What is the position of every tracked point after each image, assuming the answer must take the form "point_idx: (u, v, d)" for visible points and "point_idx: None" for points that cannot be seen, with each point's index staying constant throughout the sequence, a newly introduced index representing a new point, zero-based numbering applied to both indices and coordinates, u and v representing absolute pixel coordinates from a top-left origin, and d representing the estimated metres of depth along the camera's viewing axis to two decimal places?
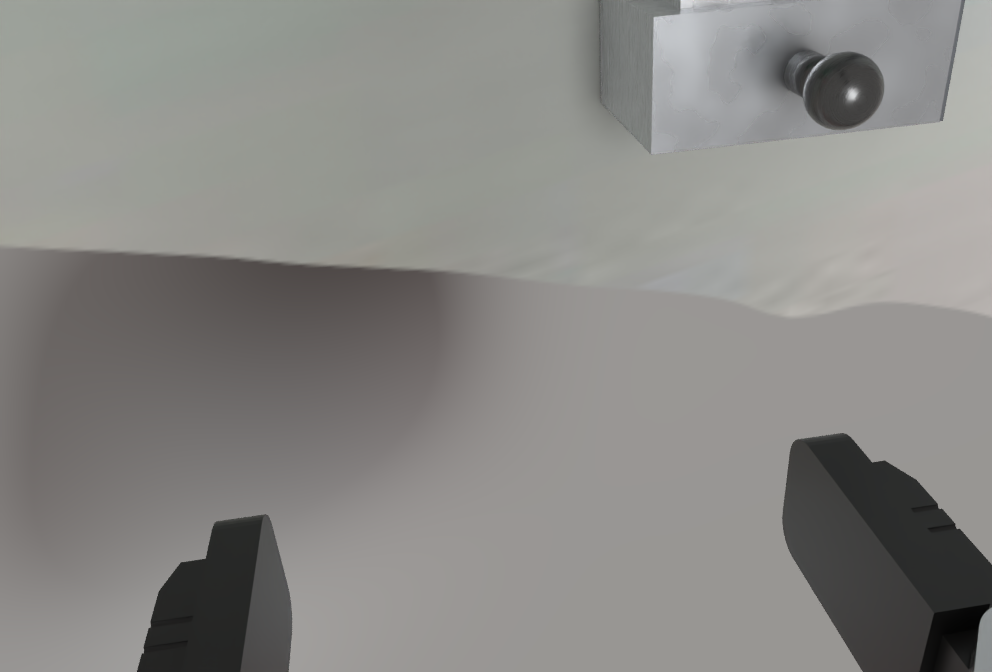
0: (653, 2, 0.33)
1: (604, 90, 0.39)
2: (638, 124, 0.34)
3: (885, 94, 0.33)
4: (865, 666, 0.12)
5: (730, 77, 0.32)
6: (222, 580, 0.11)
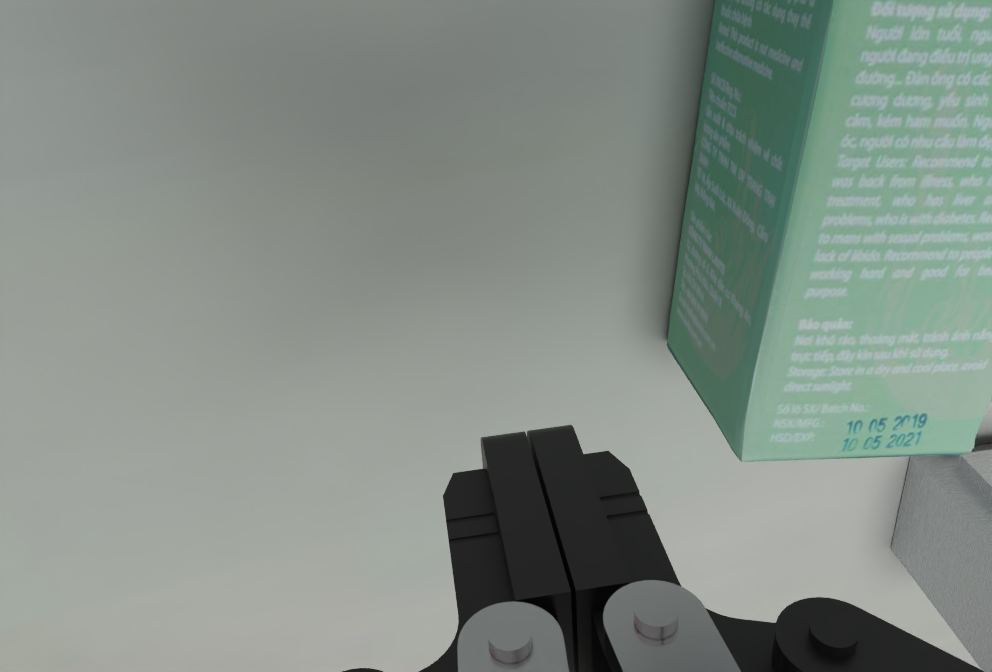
0: None
1: (903, 548, 0.36)
2: (984, 655, 0.31)
3: None
4: None
5: None
6: (510, 482, 0.12)
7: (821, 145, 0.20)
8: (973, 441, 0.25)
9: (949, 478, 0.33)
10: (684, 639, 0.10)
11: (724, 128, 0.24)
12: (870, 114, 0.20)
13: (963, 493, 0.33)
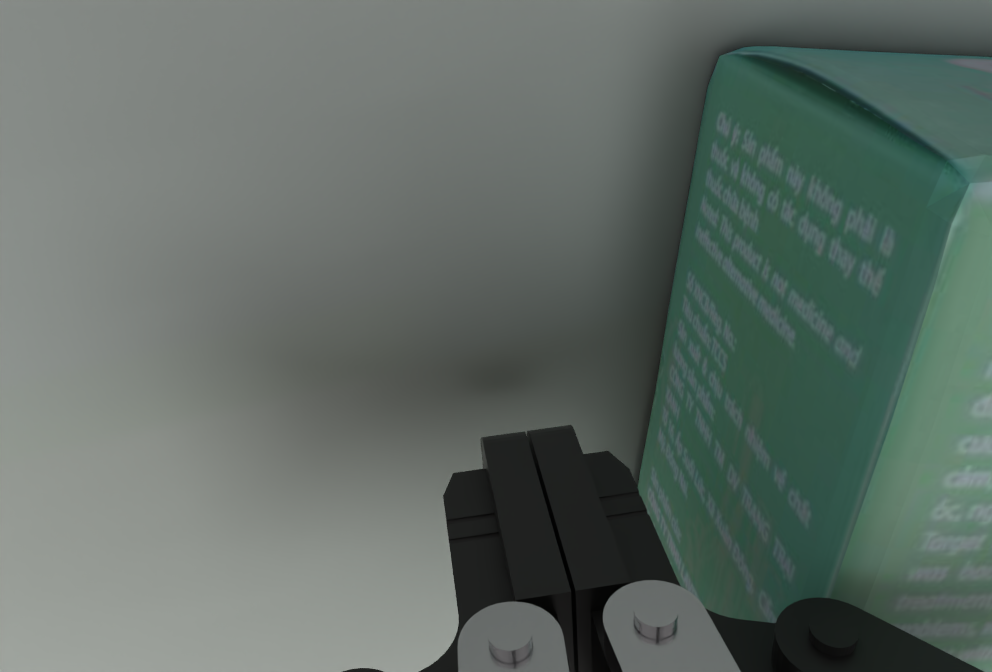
0: None
1: None
2: None
3: None
4: None
5: None
6: (510, 482, 0.12)
7: (892, 517, 0.10)
8: None
9: None
10: (684, 639, 0.10)
11: (705, 376, 0.14)
12: None
13: None
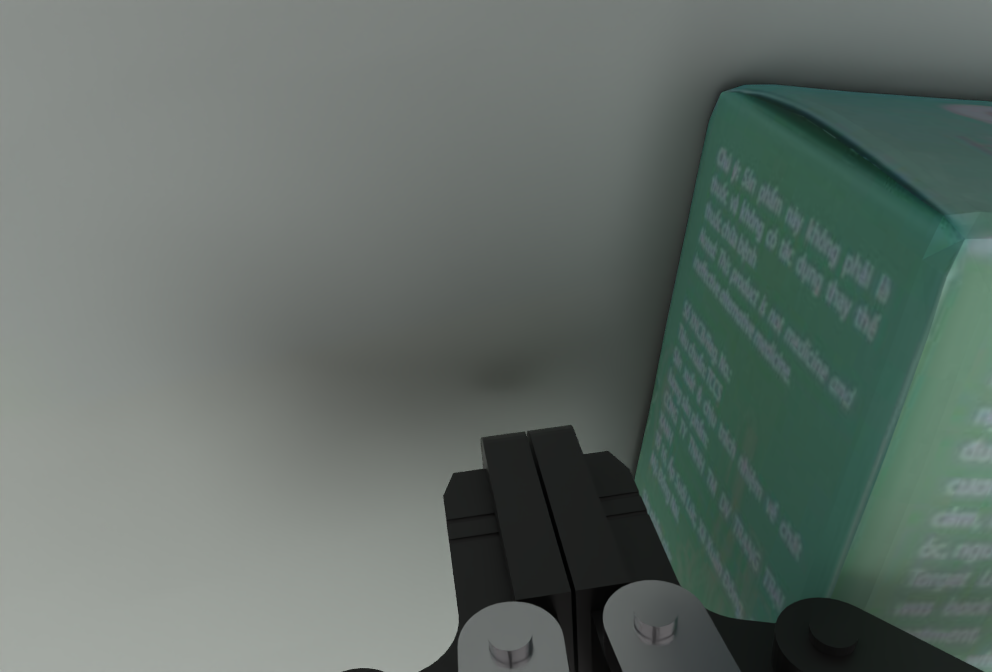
0: None
1: None
2: None
3: None
4: None
5: None
6: (511, 482, 0.12)
7: (881, 555, 0.10)
8: None
9: None
10: (684, 639, 0.10)
11: (700, 405, 0.15)
12: (979, 509, 0.10)
13: None
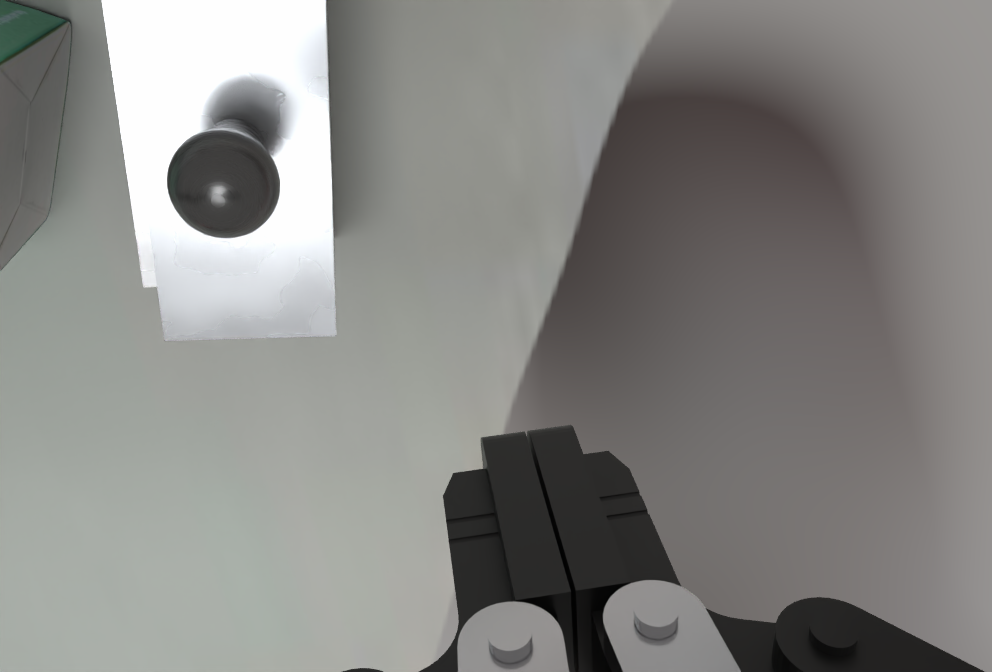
0: None
1: None
2: None
3: (272, 18, 0.22)
4: None
5: (241, 246, 0.25)
6: (510, 482, 0.12)
7: None
8: None
9: None
10: (684, 639, 0.10)
11: None
12: None
13: None
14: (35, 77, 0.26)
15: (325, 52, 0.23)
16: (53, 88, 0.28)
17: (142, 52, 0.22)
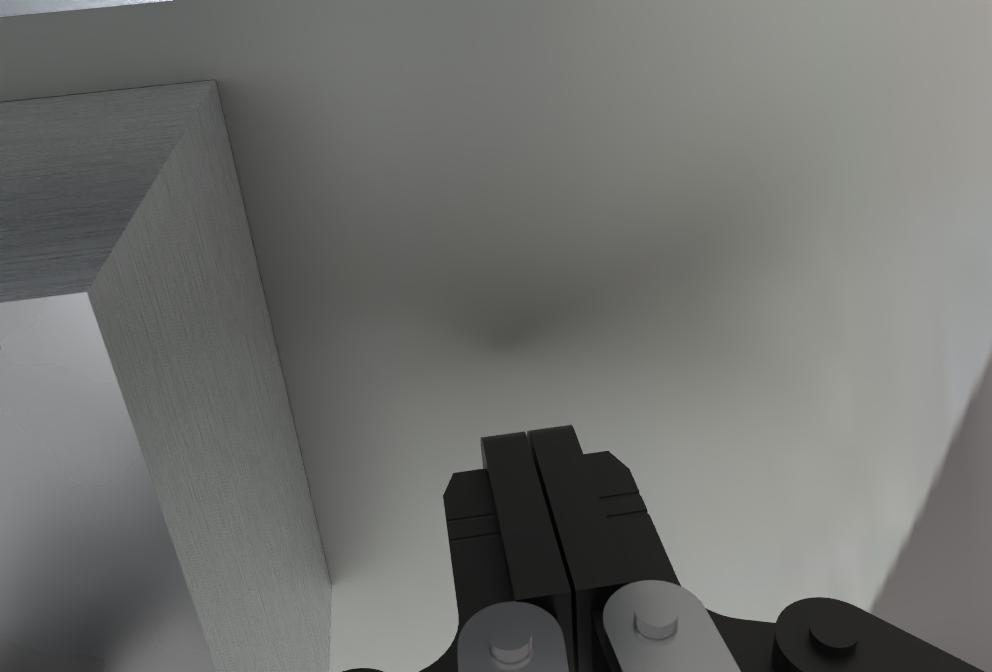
0: None
1: None
2: None
3: (22, 532, 0.09)
4: None
5: None
6: (511, 482, 0.12)
7: None
8: None
9: None
10: (684, 639, 0.10)
11: None
12: None
13: None
14: None
15: (178, 567, 0.09)
16: None
17: None
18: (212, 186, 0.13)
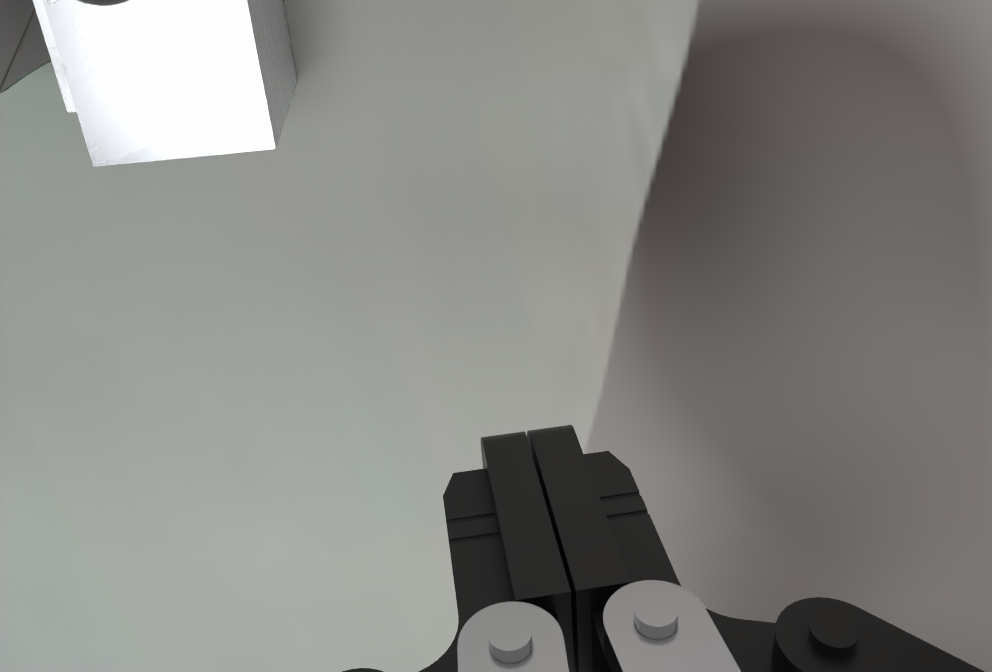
0: None
1: None
2: None
3: None
4: None
5: (155, 48, 0.23)
6: (510, 482, 0.12)
7: None
8: None
9: None
10: (684, 639, 0.10)
11: None
12: None
13: None
14: None
15: None
16: None
17: None
18: None
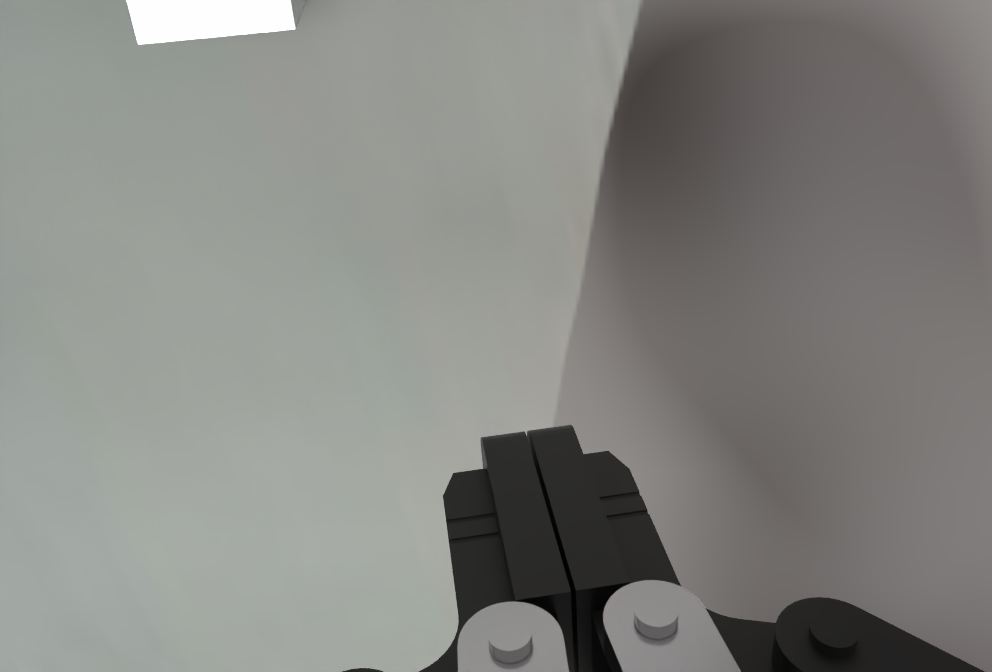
0: None
1: None
2: None
3: None
4: None
5: None
6: (510, 482, 0.12)
7: None
8: None
9: None
10: (684, 639, 0.10)
11: None
12: None
13: None
14: None
15: None
16: None
17: None
18: None
